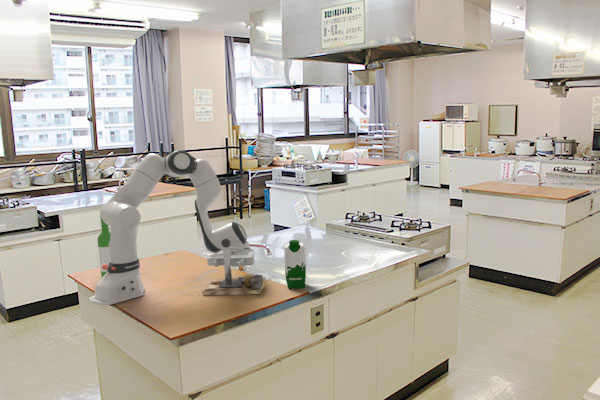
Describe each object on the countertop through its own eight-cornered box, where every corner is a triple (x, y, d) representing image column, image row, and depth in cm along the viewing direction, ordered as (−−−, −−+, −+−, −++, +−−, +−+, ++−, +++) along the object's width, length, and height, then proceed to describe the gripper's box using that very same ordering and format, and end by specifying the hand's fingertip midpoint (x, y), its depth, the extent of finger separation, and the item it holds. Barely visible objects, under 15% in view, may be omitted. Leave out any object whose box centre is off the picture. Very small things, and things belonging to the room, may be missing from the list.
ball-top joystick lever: (219, 289, 204) (216, 240, 201) (224, 284, 211) (220, 236, 208) (241, 289, 203) (237, 240, 200) (244, 283, 210) (241, 236, 207)
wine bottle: (108, 274, 240) (101, 213, 236) (122, 274, 238) (115, 213, 234) (97, 279, 233) (91, 216, 228) (112, 279, 231) (105, 216, 226)
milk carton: (285, 289, 205) (283, 242, 202) (285, 283, 214) (283, 238, 211) (307, 288, 205) (304, 241, 202) (306, 282, 214) (304, 237, 211)
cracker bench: (202, 294, 203) (201, 282, 203) (209, 287, 213) (208, 274, 212) (259, 294, 201) (259, 281, 200) (264, 286, 210) (263, 274, 210)
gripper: (211, 249, 219) (201, 257, 205) (256, 248, 217) (250, 256, 203) (212, 263, 220) (203, 272, 206) (257, 262, 218) (251, 271, 204)
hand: (226, 264), depth 205 cm, fingers open, 8 cm apart
